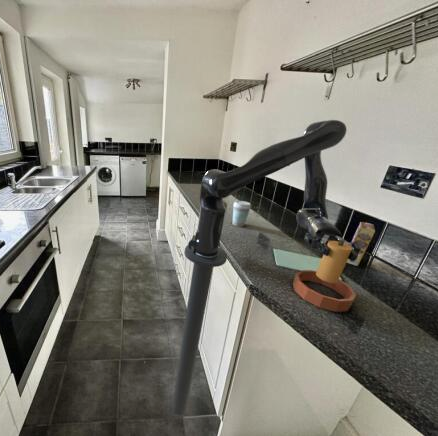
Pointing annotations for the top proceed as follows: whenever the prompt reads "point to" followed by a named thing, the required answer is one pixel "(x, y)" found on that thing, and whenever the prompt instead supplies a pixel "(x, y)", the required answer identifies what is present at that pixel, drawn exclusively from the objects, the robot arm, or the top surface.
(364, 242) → the candy box
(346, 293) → the ring
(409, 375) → the top surface
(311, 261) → the towel
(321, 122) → the robot arm
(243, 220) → the coffee cup
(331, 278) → the orange cylinder
